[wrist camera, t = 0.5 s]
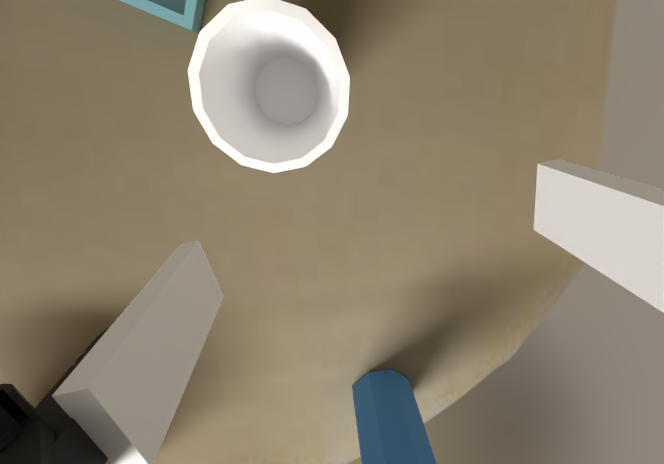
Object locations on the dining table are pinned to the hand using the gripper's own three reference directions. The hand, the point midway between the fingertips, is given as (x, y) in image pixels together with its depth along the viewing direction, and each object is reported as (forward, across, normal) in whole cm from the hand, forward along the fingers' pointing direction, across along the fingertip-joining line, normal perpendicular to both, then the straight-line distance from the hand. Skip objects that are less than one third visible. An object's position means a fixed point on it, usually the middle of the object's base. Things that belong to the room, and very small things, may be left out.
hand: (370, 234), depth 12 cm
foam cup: (+23, -3, +6) cm, 24 cm away
